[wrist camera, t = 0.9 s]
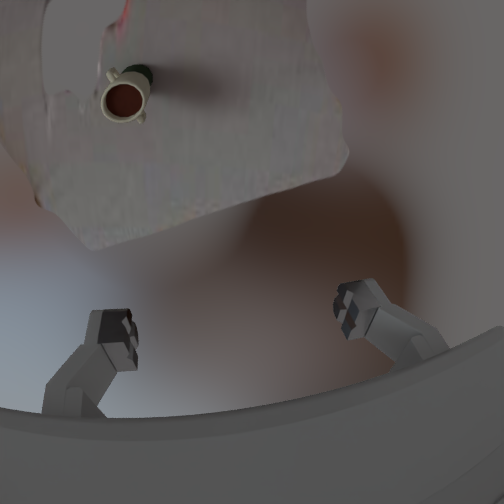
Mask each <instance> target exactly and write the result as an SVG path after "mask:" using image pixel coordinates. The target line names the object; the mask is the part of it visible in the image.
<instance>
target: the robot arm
mask: <svg viewBox="0 0 504 504" xmlns="http://www.w3.org/2000/svg"><path fill="white" fill-rule="evenodd" d="M337 292H338V295H337V297H336V298H335V299H334V302H333V312H334V315H335V317H336V319H337V321H339V322H341V323H342V327H341V329H342V331H343V333H344V335H345V337H346V339H347V340H352V339H357V338H362V337H365V338H366V339H367V340H368V341H369V342H371V343H372V344H373V345H374V346H376V347H377V348H378V349H379V350H381V351H382V352H383V353H385V354H386V355H387V356H388V357H390V358H391V359H392V360H393V361H395V364H394V365H393V367H392V368H391V370H390V372H389V373H387V374H384V375H381V376H378V377H375V378H372V379H369V380H366V381H363V382H359V383H356V384H352V385H349V386H346V387H342V388H338V389H334V390H331V391H327V392H323V393H319V394H315V395H310V396H306V397H302V398H297V399H293V400H288V401H283V402H279V403H273V404H268V405H262V406H256V407H250V408H244V409H237V410H231V411H223V412H215V413H206V414H196V415H186V416H171V417H152V418H107V417H106V416H105V415H104V414H103V413H102V412H101V411H100V410H99V409H98V407H97V405H98V403H99V402H100V400H101V398H102V397H103V395H104V393H105V392H106V390H107V389H108V387H109V385H110V384H111V382H112V380H113V379H114V377H115V376H116V374H117V372H121V371H136V370H137V368H138V355H137V353H136V351H135V350H136V349H137V347H138V331H137V327H136V324H135V323H134V322H133V321H132V313H131V311H130V309H128V308H127V309H105V310H92V312H91V313H90V316H89V321H88V326H87V331H86V336H85V342H84V344H83V345H80V346H79V347H78V348H77V349H76V350H75V352H74V353H73V354H72V355H71V356H70V357H69V358H68V360H67V361H66V362H65V363H64V364H63V365H62V367H61V368H60V369H59V370H58V371H57V372H56V374H55V375H54V376H53V377H52V378H51V379H50V381H49V382H48V383H47V384H46V389H45V394H44V400H43V407H42V414H40V413H31V412H24V411H18V410H12V409H6V408H1V407H0V504H504V327H503V326H496V327H494V328H492V329H490V330H488V331H486V332H484V333H483V334H480V335H478V336H477V337H474V338H472V339H470V340H468V341H466V342H464V343H462V344H460V345H458V346H455V347H453V348H451V349H450V348H449V346H448V345H447V344H446V342H445V340H444V339H443V337H442V336H441V334H440V333H439V331H438V330H437V328H435V327H433V326H432V325H430V324H428V323H427V322H425V321H423V320H421V319H420V318H418V317H416V316H415V315H413V314H411V313H409V312H408V311H406V310H404V309H402V308H400V307H399V306H397V305H395V304H391V303H390V301H389V300H388V298H387V297H386V295H385V294H384V292H383V291H382V290H381V288H380V287H379V285H378V284H377V282H376V281H375V280H374V279H372V278H370V279H364V280H358V281H352V282H347V283H341V284H340V285H339V286H338V289H337Z"/></svg>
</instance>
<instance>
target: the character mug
mask: <svg viewBox="0 0 504 504" xmlns="http://www.w3.org/2000/svg"><path fill="white" fill-rule="evenodd" d="M106 75H107V77H108V79H109V80H110V82H111V83H110V84H109V86H108V87H107V88H106V89H105V91H104V93H103V96H102V98H101V109H102V112H103V114H104V115H105V116H106V117H107V118H108V119H109V120H111V121H114V122H117V123H128V122H130V121H133V120H135V119H137V121H138V122H139V123H140V124H143V123H144V122H145V119H146V113H145V112H144V108H145V106H146V104H147V101H148V98H149V96H150V86H151V84H152V82H153V80H152V73H151V71H150V70H149V68H147V67H145V66H143V65H132V66H129V67H127V68H126V69H125V70H124V71H123V72H122V73H121V74H119V73H118V71H117V70H116V69H115V68H114V67H113V68H110V69H109V70H108V72H107V73H106Z"/></svg>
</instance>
